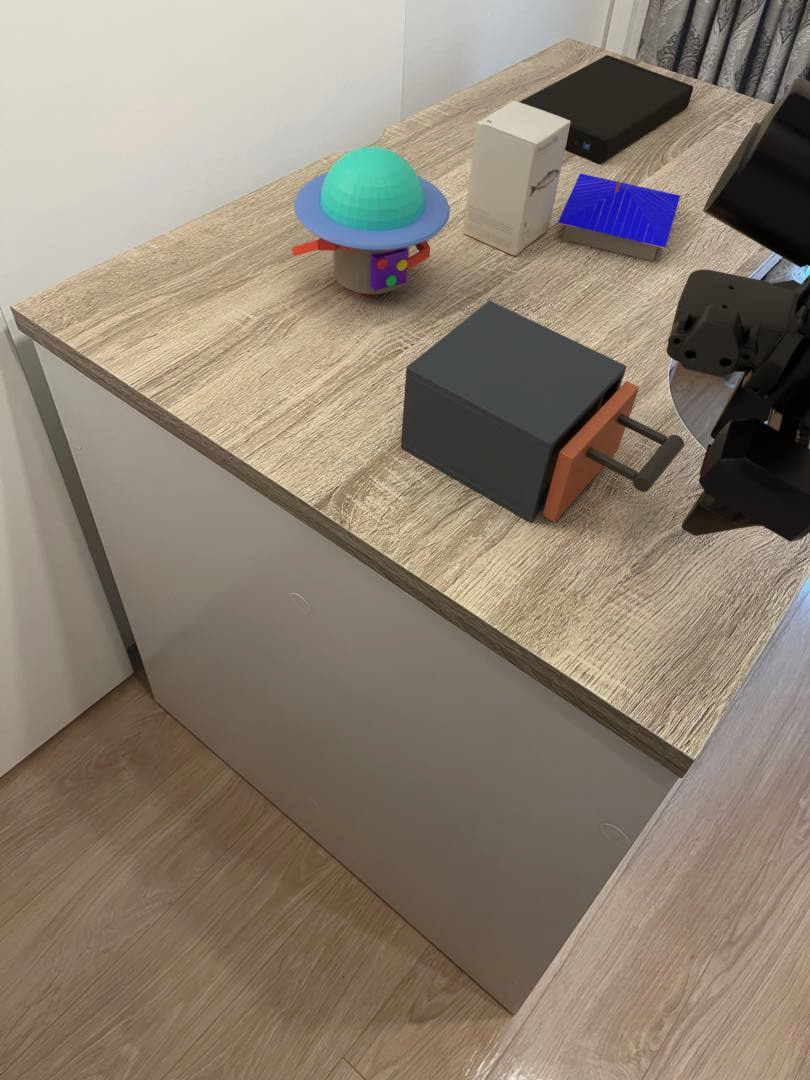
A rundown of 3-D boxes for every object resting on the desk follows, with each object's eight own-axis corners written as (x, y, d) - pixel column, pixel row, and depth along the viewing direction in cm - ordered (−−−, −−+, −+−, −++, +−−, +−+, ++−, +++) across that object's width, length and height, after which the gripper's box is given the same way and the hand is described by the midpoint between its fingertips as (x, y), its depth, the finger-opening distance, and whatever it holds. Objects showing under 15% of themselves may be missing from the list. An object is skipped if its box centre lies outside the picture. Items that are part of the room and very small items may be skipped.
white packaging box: (516, 258, 95) (536, 144, 85) (460, 233, 97) (474, 120, 87) (550, 231, 98) (573, 119, 89) (496, 208, 101) (513, 97, 91)
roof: (576, 191, 105) (585, 147, 100) (674, 214, 102) (688, 170, 98) (553, 241, 97) (563, 196, 93) (659, 266, 95) (673, 221, 91)
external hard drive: (687, 108, 121) (693, 86, 119) (600, 165, 109) (606, 141, 107) (601, 76, 126) (605, 54, 124) (509, 126, 115) (513, 103, 112)
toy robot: (399, 233, 96) (405, 104, 86) (468, 306, 88) (486, 174, 78) (274, 264, 91) (265, 131, 80) (336, 344, 83) (335, 209, 72)
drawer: (675, 480, 73) (702, 417, 67) (615, 557, 67) (639, 494, 62) (498, 389, 79) (510, 324, 74) (430, 451, 73) (437, 386, 68)
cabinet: (601, 445, 76) (627, 365, 69) (531, 523, 70) (551, 444, 63) (477, 380, 81) (489, 299, 74) (400, 448, 75) (406, 367, 68)
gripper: (768, 150, 50) (631, 342, 62) (703, 325, 38) (552, 516, 51) (937, 246, 49) (766, 419, 62) (921, 451, 38) (716, 611, 51)
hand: (703, 482), depth 56 cm, fingers open, 9 cm apart
